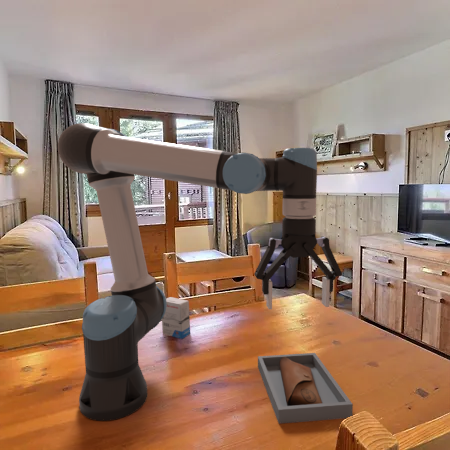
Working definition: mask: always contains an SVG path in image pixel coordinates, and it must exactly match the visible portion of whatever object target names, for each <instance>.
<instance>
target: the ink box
mask: <svg viewBox="0 0 450 450" xmlns="http://www.w3.org/2000/svg"><path fill="white" fill-rule="evenodd" d="M166 303H167V307H166V312H165V314H164V316H163V318H162V319H161V325H162V328H161V329H162V335H166V336H169V337H173V338H176V339H180V340H183V339H184V338H186V337H187V336H189V335H191V318H190V302H189V300H187V299H182V298H177V297H173V296H170V297H166Z"/></svg>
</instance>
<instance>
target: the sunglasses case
mask: <svg viewBox="0 0 450 450" xmlns="http://www.w3.org/2000/svg"><path fill="white" fill-rule="evenodd" d="M279 367H280V372H281V377H282V382H283V387H284V392H285V397H286V403H287V406H295V405H308V404H321V403H322V401H321V398H320V396H319V393H318V391H317V388H316V385H315V382H314V379H313V376H312V372H311V368H309V367H306V366H304V365H301V364H298V363H296V362H293V361H291V360H290V359H288V358H286V357H283V358H281V360H280V362H279Z"/></svg>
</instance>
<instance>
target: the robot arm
mask: <svg viewBox="0 0 450 450" xmlns="http://www.w3.org/2000/svg"><path fill="white" fill-rule="evenodd" d="M57 151H58V152H57V153H58V156H59V158H60V160H61V161H62V163H63V164H64V165H65V166H66V167H67V168H69V170H71V171H73V172H75V173H79V174H82V175H83V174H84V175H86V179H87V184H88V186H89V187H91V188H92V189H94V191H96V195H97V200H98V201H97V202H98V204H99V210H100V214H101V215H100V216H101V219H102V225H103V229H104V234H105V240H106V243H107V249H108V253H109V259H110V262H111V267H112V272H113V276H114V283H113V284H112V286H111V287H110V292H111V294H110V295H107V296H105V297H103V298H101V297H100V298H98V299H96V300H94V301H92V302H91V303H90V304H88V305H87V306H86V307H85V308H84V311H83V313H82V325H81V330H82V337H83V349H84V364H85V375H84V379H83V382H82V386H81V390H80V393H79V396H78V397H79V401H78V402H79V410H80V413H81V414H82V415H83V416H84V417H85V418H87V419H90V420H93V421H100V422H101V421H103V422H104V421H106V422H107V421H113V420H118V419H119V420H120V419H122V418H125V417H126V416H130V415H132V414H133V413H135V412H136V411H138V410H139V409H141V408H142V407H143V405H144V404H145V403H146V402H147V399H148V385H147V382H146V379H145V376H144V375H143V372H142V369H141V367H140V364H139V351H138V350H139V346H138V344H139V342H140V341H141V340H142V339H143V338H144V337H145V336H146V335H147V334H148V333H149V332H150V331H152V330H153V329H155V328H156V327H157V326H158V325H159V324H160V322H162V318H163V316H164V314H165V312H166V307H167V303H166V298H167V297H166V296H165V293H164V291H163V290H162V289H160V288H159V286H157V283H156V279H155V277H153V276H151V275H150V274H149V272H148V271H149V270H148V267H147V262H146V258H145V257H146V256H145V251H144V247H143V242H142V236H141V233H140V228H139V223H138V217H137V211H136V207H135V201H134V196H133V192H132V187H131V185H132V183H133V181H134V180H135V178H136V177H135V175H137V176H143V177H149V178H153V179H158V180H159V179H160V180H166V181H172V182H178V183H179V182H180V183H186V184H190V185H197V186H202V187H203V186H204V187H209V188H216V189H221V190H226V191H233V193H237V194H242V195H244V194H245V195H248V194H252V193H255V192H269V191H270V192H272V191H273V192H274V191H275V192H279V191H282V216H284V217H283V218H282V219H281V221H282V222H281V223H282V227H281V228H282V231H281V232H282V233H281V234H282V236H281V238H280V239H279V238H274V237H269V238H268V240H267V241H268V242H267V247H266V249H265V251H264V253H263V255H262V257H261V259H260V261H259V263H258V265H257V267H256V270H255V272H254V276H255V278H256V279H258V280H260V281H261V282H262V283H261V285H262V287H261V290H262V293H263V295H264V296H265V295H266V301H265V302H266V304H265V305H266V307H267V309H268V310H273V281H272V280H271V279H272V277H273V276H274V275H275V273H276V272H278V270H279V269H280V267H281V266H282V265H283V264H284V263H285V262H286V261H287V260H288V259H289V258H290V257H292V258H293V259H294V258H306V257H310V258H311V260H312V261H313V262H314V263H315V265H316V266H317V267H318V268H319V269H320V270H321V272H322V273H323V274H324V275H325V276H322V279H321V280H322V283H321V304H322V305H323V306H324V307H325V308H329V307H330V293H332V292H333V291H334V281H335V280H336V278H338V277H342V275H343V272H342V270H341V268H340V266H339V264H338V262H337V260H336V257H335V255H334V253H333V251H332V249H331V247H330V239H329V238H328V237H327V236H323V235H322V236H320V237H318V238H317V237H316V233H317V232H316V226H317V225H316V224H317V223H316V220H317V219H316V218H315V217H314V216H316V213H317V184H318V183H317V181H318V153H317V151H316V150H315V148H312V147H294V148H292V147H290V148H285V149H284V150H283V153H282V154H283V155H282V157H275V158H274V157H272V158H270V157H269V158H268V157H267V158H266V157H265V158H264V157H261V158H260V157H258V156H256V155H255V154H253V153H249V152H234V151H224V150H220V149H213V148H208V147H207V148H206V147H201V146H199V147H198V146H192V145H185V144H176V143H171V142H163V141H156V140H149V139H142V138H137V137H129V136H128V135H127V134H125V133H122V132H120V131H119V130H117V129H113V128H107V127H103V126H98V125H96V124H92V123H87V122H79V123H73V124H71V125H70V126H67V127H66V128H65V129H64V130H63V131H62V132H61V134H60V135H59V138H58V141H57ZM317 244H318V246H319V247H321V249H322V252H323V255H324V256H325V258H326V260H327V263H328V264H329V267H330V269H331V270H330V269H329V268H328V266H327V265H326V264H325V263H324V262H323V260H322V259H321V258H320V257H319V255H318V254H317V253H316V252H315V250H314V248H315V247H316V246H317ZM279 245H280V246H281V247H282V248H283V249H282V250H281V251H280V252H279V255H278V256H277V257H276V258H275V259H274V260H273V262H272V263H271V264H270V265H269V263H270V261H271V258H272V256H273V255H274V253H275V250H276V249H277V248H278V247H279ZM268 265H269V266H268ZM266 268H267V269H266Z"/></svg>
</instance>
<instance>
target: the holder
mask: <svg viewBox="0 0 450 450" xmlns="http://www.w3.org/2000/svg"><path fill="white" fill-rule="evenodd" d="M283 357H286V358H288V359H290V360H291V361H293V362H296V363H298V364H301V365H304V366H306V367H309V368H311V372H312V376H313V379H314V382H315V385H316V388H317V391H318V393H319V396H320V398H321V401H322V403H321V404H308V405H295V406H287V403H286V397H285V392H284V387H283V382H282V377H281V372H280V367H279V362H280V360H281V358H283ZM257 369H258V371H259V374H260V376H261V380H262V382H263V385H264V388H265V390H266V394H267V395H268V399H269V402H270V404H271V406H272V409H273V412H274V415H275V418H276V420H277V422H278V423H277V424H291V423H304V422H305V423H306V422H314V421H316V422H317V421H329V420H339V419H340V420H341V419H342V420H343V419H348V418H347V417H350V416H352V417H353V408H354V407H353V406H354V405H353V403H352V401H351V400H350V398H349V397H348V395H347V394H346V393H345V391H344V390H343V389H342V388H341V386H340V385H339V384H338V382H337V380H336V379H335V378H334V377H333V375H332V374H331V373H330V371H329V370H328V368H327V367H326V366H325V364H324V363H323V362H322V360H321V359H320V357H319V356H318V355H317V353H315V352H309V353H305V352H304V353H292V354H290V353H289V354H277V355H276V354H274V355H263V356H262V355H259V356H257Z"/></svg>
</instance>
